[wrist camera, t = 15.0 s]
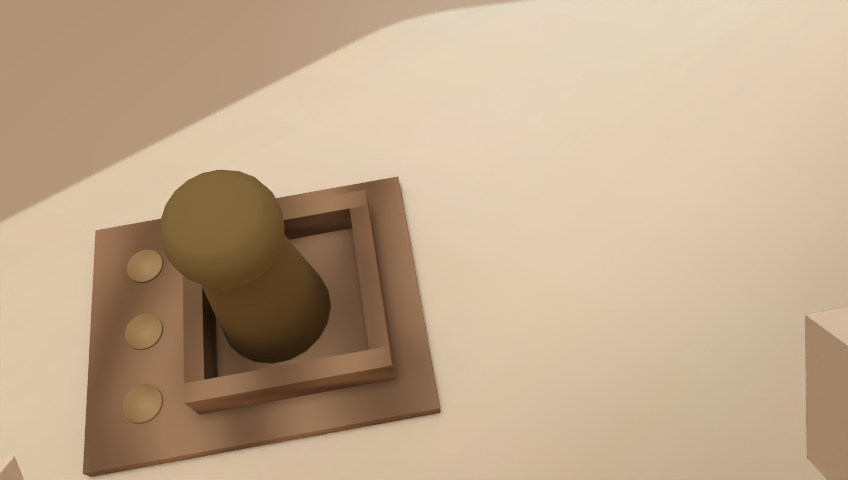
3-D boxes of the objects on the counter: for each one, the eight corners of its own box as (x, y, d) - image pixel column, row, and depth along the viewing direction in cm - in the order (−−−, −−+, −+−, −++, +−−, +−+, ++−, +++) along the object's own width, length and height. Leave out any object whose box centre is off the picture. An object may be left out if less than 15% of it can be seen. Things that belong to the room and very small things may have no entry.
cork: (267, 242, 42) (203, 126, 32) (352, 293, 40) (312, 187, 30) (197, 326, 40) (106, 230, 30) (284, 385, 38) (217, 302, 28)
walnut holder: (399, 183, 44) (394, 155, 41) (440, 412, 37) (437, 396, 35) (102, 236, 44) (77, 211, 41) (90, 476, 37) (60, 465, 34)
